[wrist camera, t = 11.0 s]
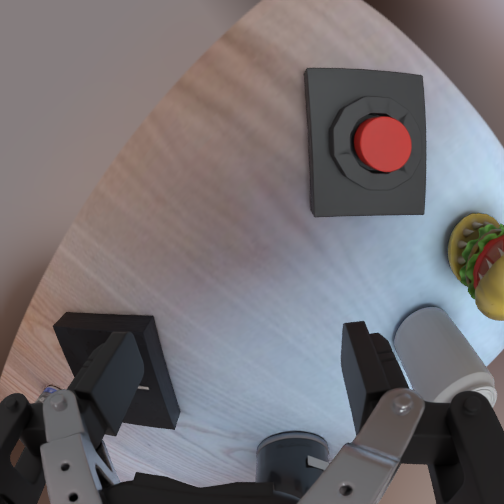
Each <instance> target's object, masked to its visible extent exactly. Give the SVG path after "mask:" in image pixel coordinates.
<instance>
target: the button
mask: <svg viewBox="0 0 504 504" xmlns="http://www.w3.org/2000/svg"><path fill="white" fill-rule="evenodd" d="M354 147H355V151H356V154H357V156H358V157H359V159H360V160H361V161H362V162H363V163H364V164H365V165H367V166H369V167H371V168H373V169H376V170H378V171H382V172H392V171H396V170H398V169H400V168H401V167H402V166H403V165H405V163H406V162H407V160H408V159H409V157H410V154H411V148H412V144H411V138H410V135H409V133H408V131H407V129H406V128H405V126H404V125H403V124H402V123H401V122H399V121H398V120H396V119H394V118H391V117H386V116H382V117H374V118H370V119H367V120H365V121H364V122H363V123H362V124H360V126H359V127H358V129H357V130H356V133H355V136H354Z"/></svg>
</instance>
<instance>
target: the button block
mask: <svg viewBox="0 0 504 504" xmlns="http://www.w3.org/2000/svg"><path fill="white" fill-rule="evenodd" d="M304 81H305V94H306V108H307V124H308V142H309V163H310V191H311V211H312V213H313V215H314V217H335V216H375V215H424V209H425V190H426V118H425V100H424V87H423V76H422V75H415V74H408V73H399V72H389V71H378V70H364V69H344V68H307V69H306V71H305V73H304ZM382 116H386V117H391V118H394V119H396V120H398V121H399V122H401V123H402V124H403V125H404V126H405V128H406V129H407V131H408V133H409V135H410V138H411V144H412V148H411V154H410V157H409V159H408V160H407V162H406V163H405V165H403V166H402V167H401V168H400V169H398V170H396V171H392V172H382V171H378V170H376V169H373V168H371V167H369V166H367V165H365V164H364V163H363V162H362V161H361V160H360V159H359V157H358V156H357V154H356V151H355V147H354V136H355V133H356V130H357V129H358V127H359V126H360V124H362V123H363V122H364V121H365V120H367V119H370V118H374V117H382Z"/></svg>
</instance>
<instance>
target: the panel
mask: <svg viewBox="0 0 504 504" xmlns="http://www.w3.org/2000/svg"><path fill="white" fill-rule="evenodd" d="M53 328H54V331H55V333H56V336H57V338H58V341H59V343H60V346H61V348H62V350H63V353H64V355H65V357H66V360H67V362H68V364H69V366H70V369H71V371H72V373H73V375H74V377H75V376H76V375H77V373H78V372H79V371H80V369H81V368H82V367H83V365H84V363H85V362H86V361H88V357H89V356H90V355H91V353H92V352H93V350H95V349H96V348H97V347H98V346H100V345H101V344H102V343H105V342H106V340H107V339H108V337H109V336H110V335H111V333H112V332H131V333H132V334H133V335H134V338H135V340H136V343H137V346H138V349H139V352H140V355H141V357H142V360H143V363H144V375H143V378H142V380H141V382H140V384H139V386H138V389H137V391H136V393H135V395H134V397H133V399H132V402H131V404H130V406H129V408H128V410H127V413H126V415H125V417H124V419H123V423H129V424H135V425H142V426H149V427H156V428H164V429H173V430H175V427H176V424H177V421H178V418H179V414H180V409H179V406H178V403H177V400H176V397H175V394H174V390H173V387H172V384H171V381H170V377H169V374H168V370H167V367H166V363H165V360H164V356H163V353H162V349H161V345H160V341H159V338H158V334H157V330H156V326H155V322H154V318H153V316H135V315H108V314H88V313H71V312H66V313H65V314H64V315H63V316H62V317H61V318H60V319H59V320H58V321H57V322H56V323H55V324H54V325H53Z"/></svg>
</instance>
